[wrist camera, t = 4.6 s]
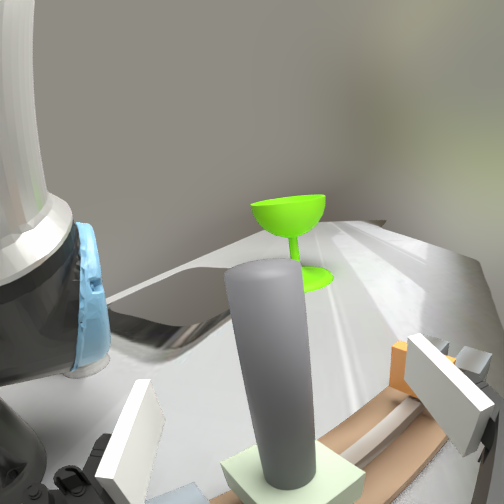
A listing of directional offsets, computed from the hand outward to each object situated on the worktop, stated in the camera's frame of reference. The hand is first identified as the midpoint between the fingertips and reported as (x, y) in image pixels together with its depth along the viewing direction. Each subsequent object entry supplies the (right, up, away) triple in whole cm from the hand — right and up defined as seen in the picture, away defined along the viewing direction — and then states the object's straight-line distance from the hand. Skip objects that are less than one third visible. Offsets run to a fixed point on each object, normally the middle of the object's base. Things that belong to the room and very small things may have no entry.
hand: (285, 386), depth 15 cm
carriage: (+1, -10, +2) cm, 10 cm away
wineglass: (+9, 0, +57) cm, 58 cm away
